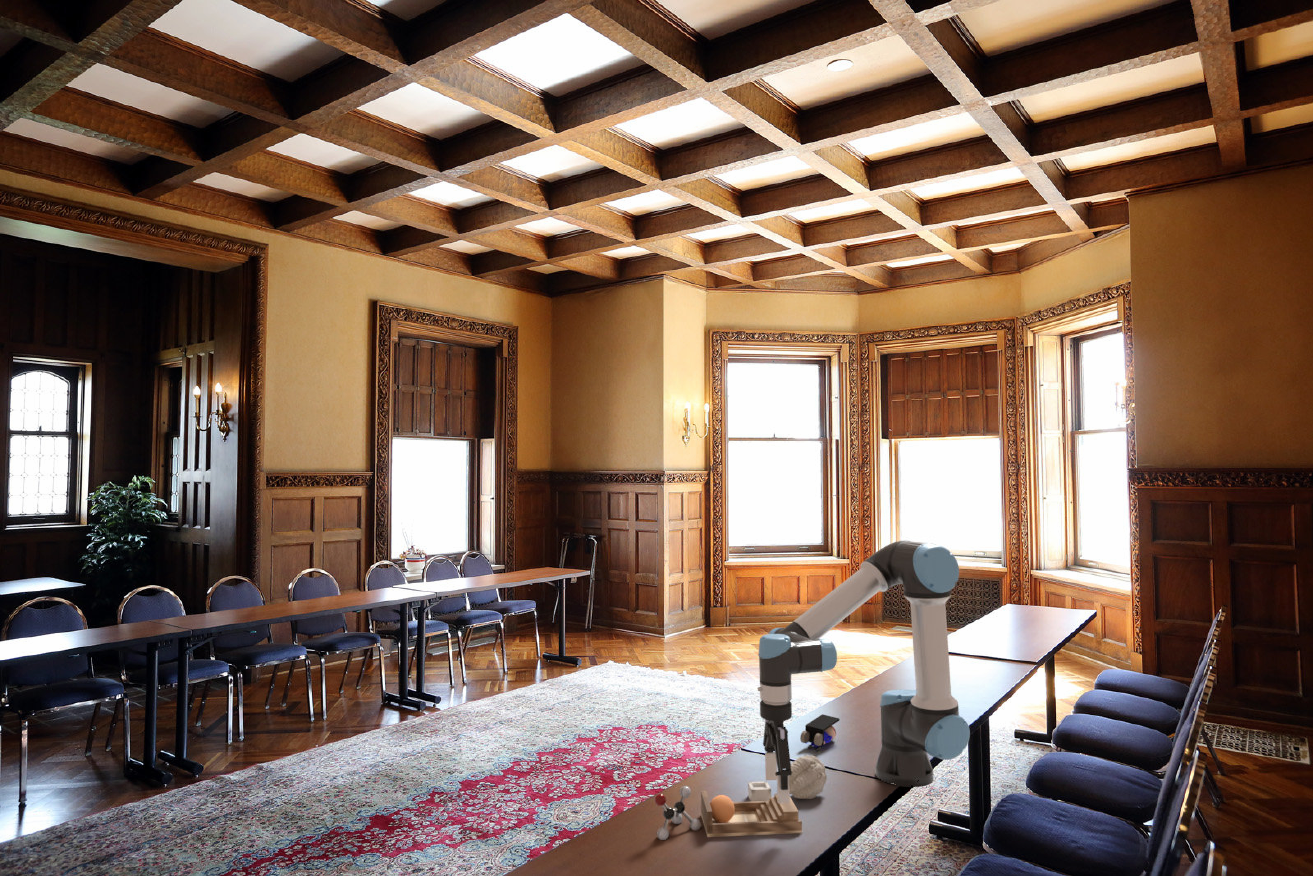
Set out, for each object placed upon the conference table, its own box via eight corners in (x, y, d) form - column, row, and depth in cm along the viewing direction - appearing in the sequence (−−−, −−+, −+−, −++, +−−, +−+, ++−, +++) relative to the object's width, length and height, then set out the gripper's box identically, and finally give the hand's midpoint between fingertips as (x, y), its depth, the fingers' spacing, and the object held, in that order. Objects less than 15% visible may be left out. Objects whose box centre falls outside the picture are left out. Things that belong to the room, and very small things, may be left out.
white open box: (767, 796, 207) (767, 781, 207) (771, 804, 202) (771, 789, 202) (748, 797, 206) (748, 782, 206) (751, 805, 201) (751, 790, 201)
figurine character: (820, 759, 237) (841, 739, 248) (818, 734, 236) (840, 715, 248) (800, 754, 241) (822, 735, 253) (798, 729, 240) (820, 711, 252)
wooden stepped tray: (790, 813, 196) (789, 787, 197) (802, 835, 184) (801, 808, 185) (701, 816, 195) (700, 790, 195) (707, 839, 183) (707, 811, 183)
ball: (711, 819, 192) (735, 812, 192) (714, 830, 186) (739, 823, 186) (704, 795, 192) (728, 787, 193) (708, 805, 186) (732, 798, 187)
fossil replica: (793, 807, 200) (792, 767, 200) (776, 795, 207) (775, 756, 208) (834, 800, 204) (833, 760, 204) (815, 788, 212) (815, 749, 212)
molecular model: (703, 830, 188) (702, 784, 188) (671, 849, 179) (670, 800, 179) (676, 820, 193) (675, 775, 193) (643, 838, 184) (643, 791, 184)
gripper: (750, 687, 203) (752, 771, 203) (770, 717, 178) (772, 814, 178) (779, 686, 204) (781, 770, 203) (804, 716, 179) (805, 812, 178)
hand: (777, 791), depth 190 cm, fingers open, 13 cm apart
